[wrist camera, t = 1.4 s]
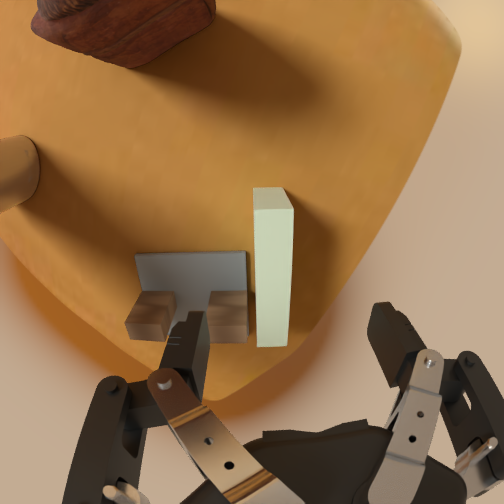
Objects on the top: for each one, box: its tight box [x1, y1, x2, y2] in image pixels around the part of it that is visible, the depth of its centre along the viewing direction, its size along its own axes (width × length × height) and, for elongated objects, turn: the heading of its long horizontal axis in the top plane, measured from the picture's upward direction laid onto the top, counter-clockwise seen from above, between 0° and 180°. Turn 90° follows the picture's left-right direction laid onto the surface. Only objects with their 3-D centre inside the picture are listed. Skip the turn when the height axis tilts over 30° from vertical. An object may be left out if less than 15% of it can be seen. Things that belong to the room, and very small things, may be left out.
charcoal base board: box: [134, 251, 249, 336], centre depth 33 cm, size 13×12×1 cm
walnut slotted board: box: [125, 290, 248, 343], centre depth 30 cm, size 13×2×6 cm, turn 91°
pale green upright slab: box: [253, 187, 294, 347], centre depth 27 cm, size 3×14×8 cm, turn 1°
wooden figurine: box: [31, 0, 216, 68], centre depth 12 cm, size 12×6×18 cm, turn 119°
